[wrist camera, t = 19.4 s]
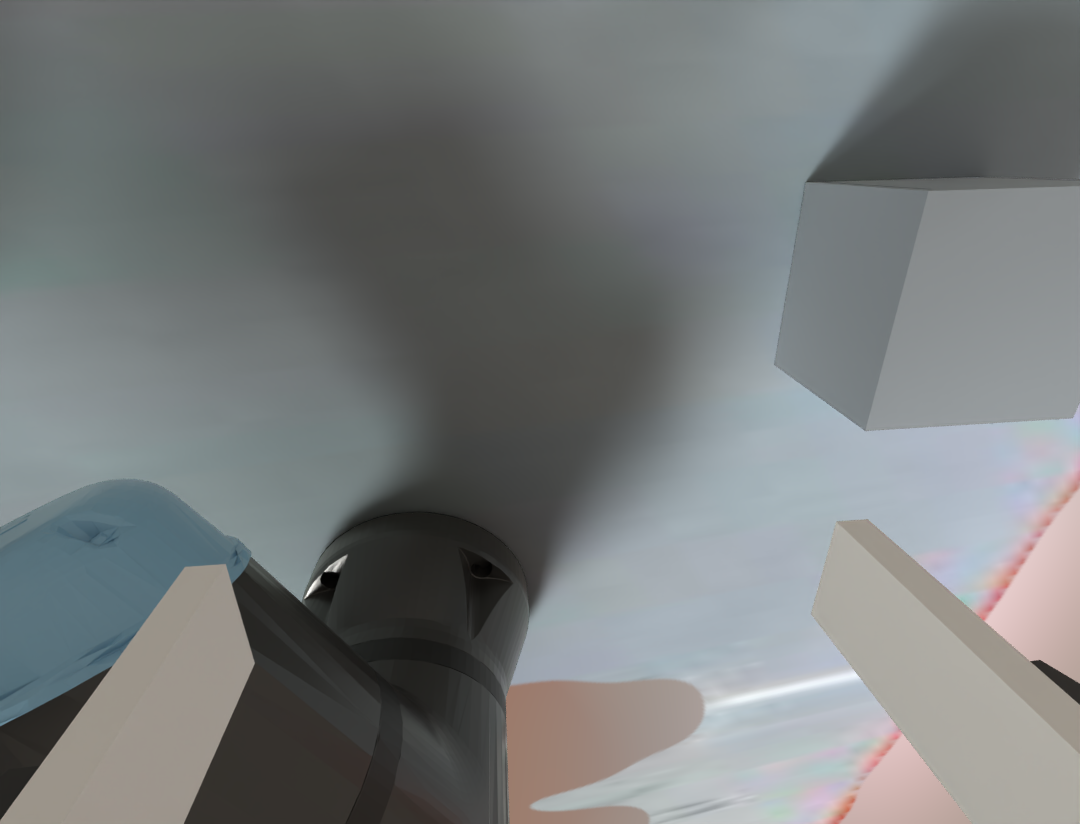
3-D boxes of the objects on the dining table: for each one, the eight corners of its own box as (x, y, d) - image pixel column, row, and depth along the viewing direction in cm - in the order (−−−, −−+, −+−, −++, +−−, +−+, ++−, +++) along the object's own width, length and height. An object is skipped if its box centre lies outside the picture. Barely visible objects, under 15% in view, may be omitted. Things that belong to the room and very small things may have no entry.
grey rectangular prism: (933, 356, 33) (1072, 418, 25) (774, 364, 33) (865, 431, 25) (988, 176, 29) (1177, 182, 21) (805, 182, 28) (928, 190, 20)
